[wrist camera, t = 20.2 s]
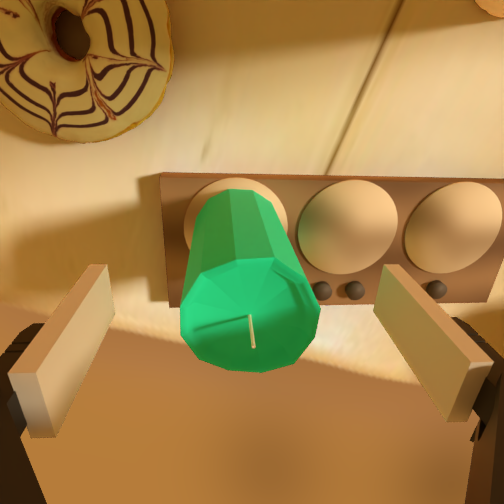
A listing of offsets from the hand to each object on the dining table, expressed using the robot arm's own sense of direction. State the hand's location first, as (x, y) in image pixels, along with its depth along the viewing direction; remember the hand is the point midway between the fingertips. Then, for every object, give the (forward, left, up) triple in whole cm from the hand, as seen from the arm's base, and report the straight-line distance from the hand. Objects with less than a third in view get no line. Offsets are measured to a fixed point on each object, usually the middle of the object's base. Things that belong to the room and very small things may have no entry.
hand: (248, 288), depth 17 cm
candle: (0, 0, -8) cm, 8 cm away
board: (+2, +8, -10) cm, 13 cm away
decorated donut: (-11, -9, -10) cm, 18 cm away
